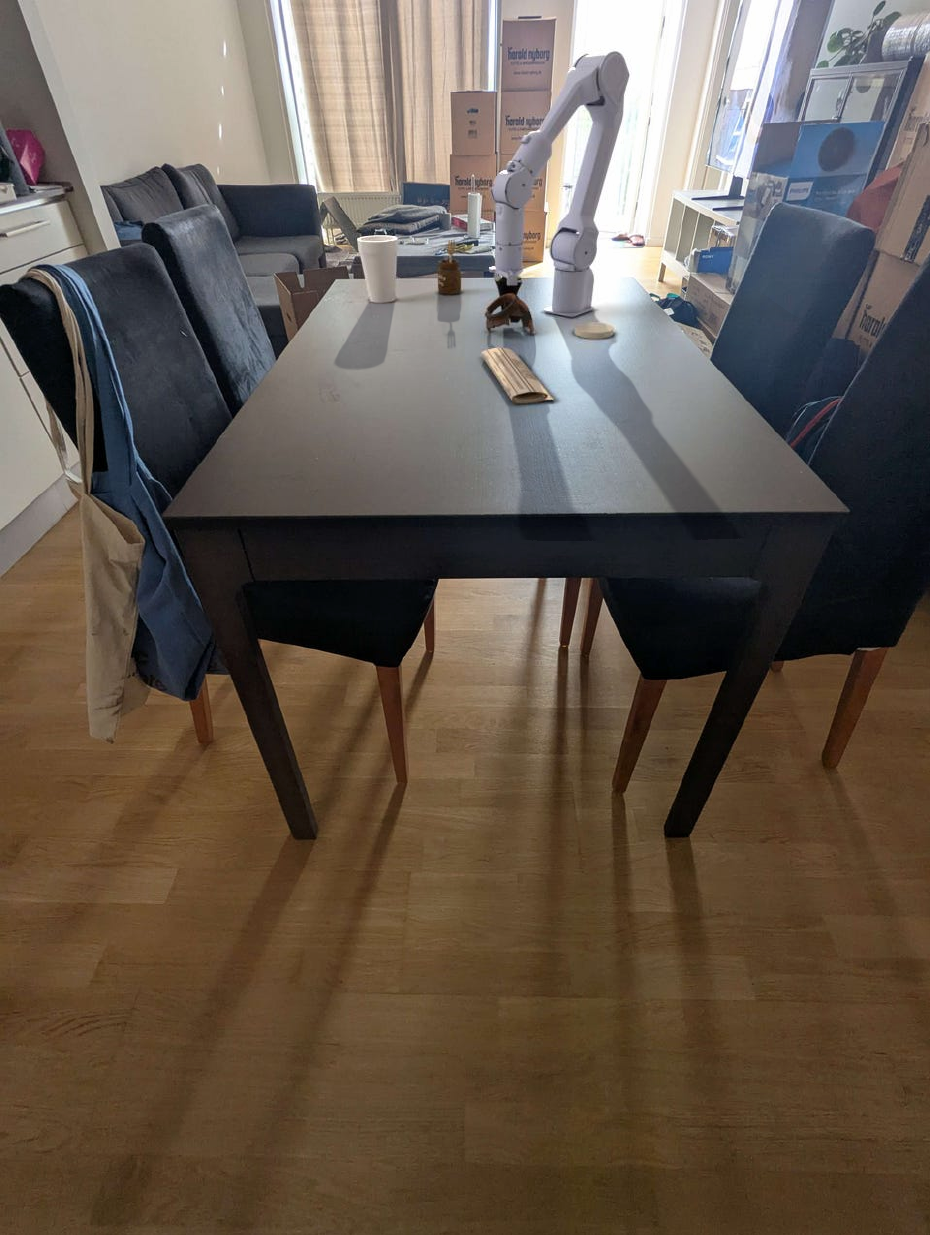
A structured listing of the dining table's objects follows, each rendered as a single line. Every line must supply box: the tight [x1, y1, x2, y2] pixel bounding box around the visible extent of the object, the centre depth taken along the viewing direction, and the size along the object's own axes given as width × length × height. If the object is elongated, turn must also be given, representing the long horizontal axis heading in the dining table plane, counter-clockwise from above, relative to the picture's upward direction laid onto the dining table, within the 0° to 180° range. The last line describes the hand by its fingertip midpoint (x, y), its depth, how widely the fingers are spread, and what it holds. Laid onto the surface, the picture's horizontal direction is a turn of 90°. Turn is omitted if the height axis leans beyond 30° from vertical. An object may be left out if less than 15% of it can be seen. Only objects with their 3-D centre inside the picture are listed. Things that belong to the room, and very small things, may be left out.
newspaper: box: [481, 347, 555, 404], centre depth 107 cm, size 24×7×2 cm, turn 11°
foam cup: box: [357, 234, 399, 304], centre depth 148 cm, size 10×9×13 cm
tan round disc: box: [573, 321, 615, 340], centre depth 127 cm, size 8×8×1 cm
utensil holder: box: [437, 239, 462, 296], centre depth 153 cm, size 6×6×12 cm
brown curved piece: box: [484, 293, 535, 336], centre depth 128 cm, size 12×10×8 cm
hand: (507, 315), depth 134 cm, fingers closed
